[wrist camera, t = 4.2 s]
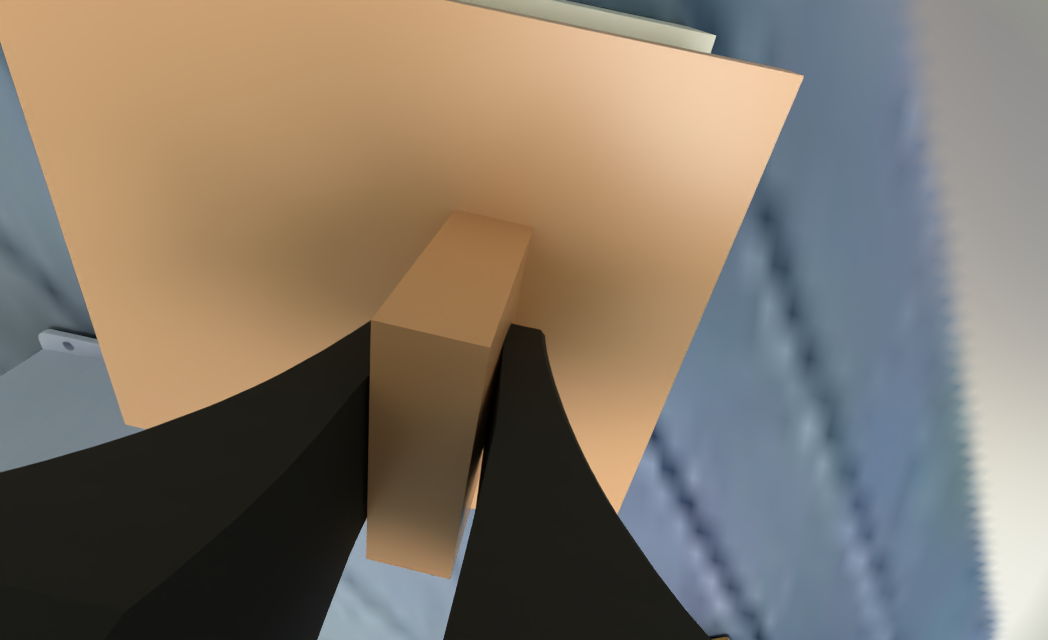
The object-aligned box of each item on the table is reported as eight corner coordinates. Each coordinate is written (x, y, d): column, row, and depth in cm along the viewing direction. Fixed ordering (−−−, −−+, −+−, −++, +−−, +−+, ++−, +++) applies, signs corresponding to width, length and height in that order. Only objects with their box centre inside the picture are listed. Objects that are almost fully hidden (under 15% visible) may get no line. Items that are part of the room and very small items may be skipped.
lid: (161, 392, 16) (-24, 553, 11) (35, -91, 9) (-504, -176, 5) (606, 499, 15) (602, 712, 11) (779, 66, 9) (947, 132, 4)
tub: (289, 259, 22) (224, 315, 18) (266, -64, 16) (163, -83, 12) (595, 325, 22) (595, 395, 18) (687, 26, 16) (716, 36, 12)
